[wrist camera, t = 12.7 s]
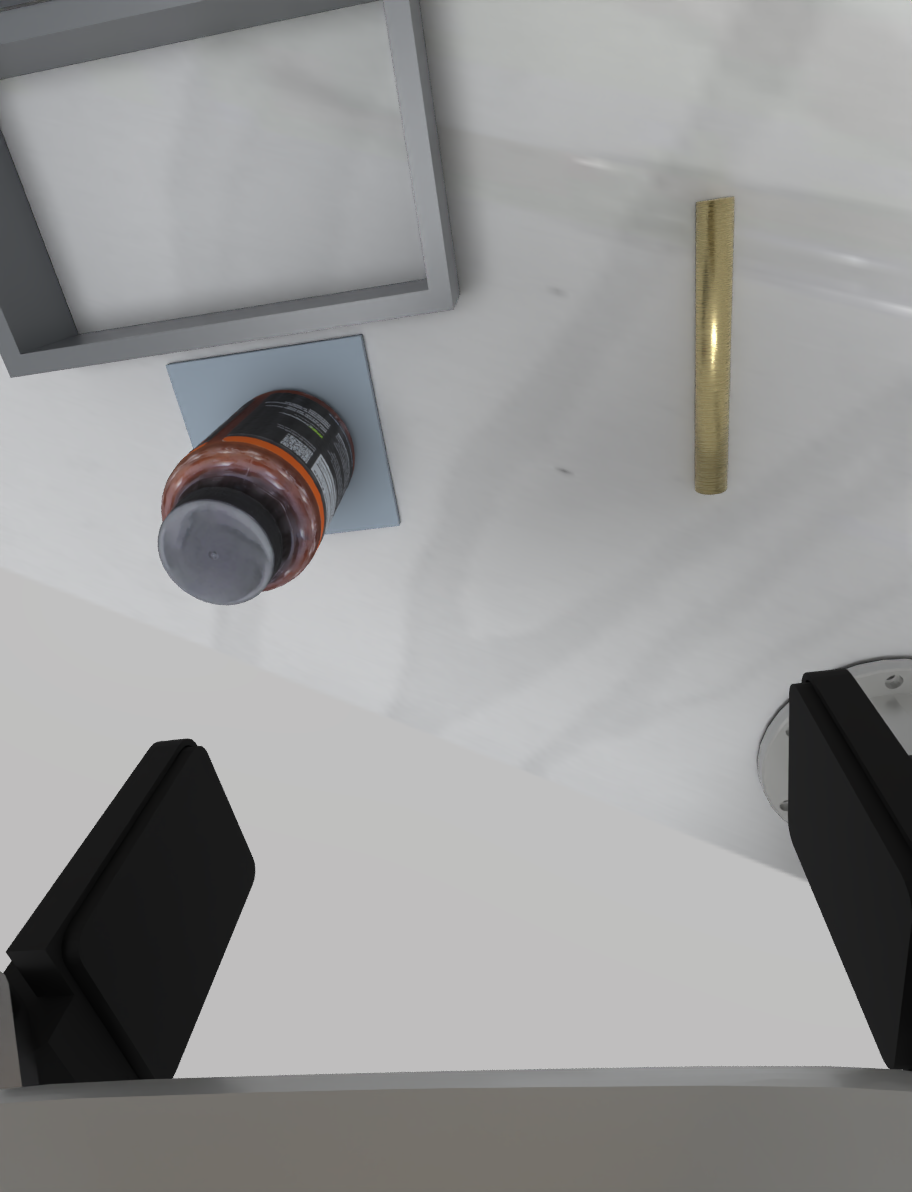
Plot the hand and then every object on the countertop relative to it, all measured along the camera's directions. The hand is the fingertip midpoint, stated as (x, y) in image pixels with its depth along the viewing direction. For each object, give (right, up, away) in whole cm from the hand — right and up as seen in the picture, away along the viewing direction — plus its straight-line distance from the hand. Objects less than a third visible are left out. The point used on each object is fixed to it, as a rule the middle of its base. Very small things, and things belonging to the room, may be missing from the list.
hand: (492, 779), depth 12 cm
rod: (+11, +13, +19) cm, 26 cm away
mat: (-8, +10, +23) cm, 27 cm away
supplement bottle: (-8, +10, +23) cm, 26 cm away
